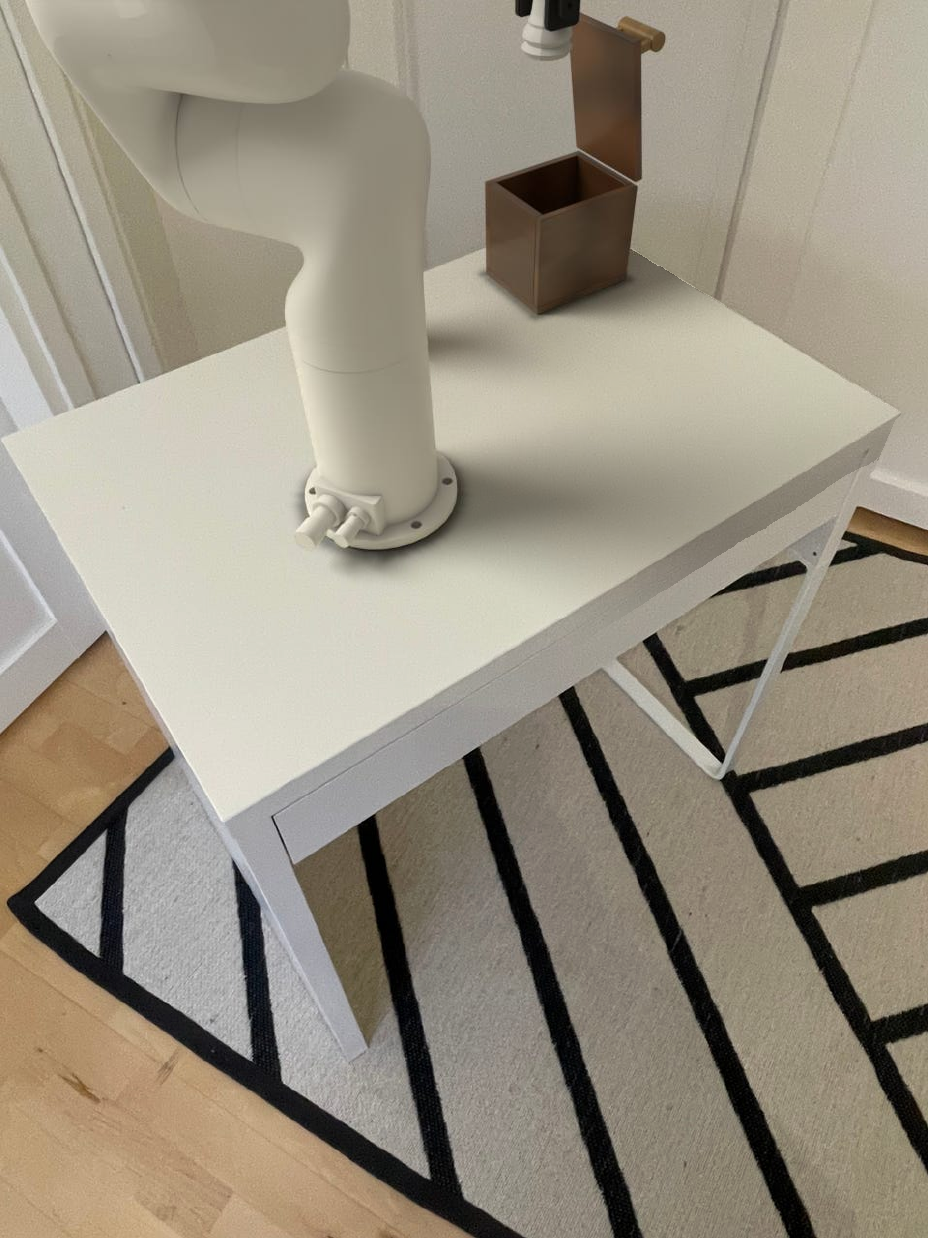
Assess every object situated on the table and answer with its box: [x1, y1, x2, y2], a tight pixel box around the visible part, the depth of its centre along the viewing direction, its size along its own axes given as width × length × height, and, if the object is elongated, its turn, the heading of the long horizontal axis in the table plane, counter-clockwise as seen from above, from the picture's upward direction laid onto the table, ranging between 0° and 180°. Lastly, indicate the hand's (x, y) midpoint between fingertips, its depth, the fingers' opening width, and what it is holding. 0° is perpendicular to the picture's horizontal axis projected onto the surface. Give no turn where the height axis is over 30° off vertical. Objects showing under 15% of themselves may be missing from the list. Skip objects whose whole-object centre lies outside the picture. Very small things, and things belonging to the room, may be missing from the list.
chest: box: [484, 150, 639, 315], centre depth 88 cm, size 12×10×10 cm
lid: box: [569, 11, 667, 183], centre depth 81 cm, size 12×10×5 cm
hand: (546, 17), depth 72 cm, fingers closed on rook chess piece, 3 cm apart
